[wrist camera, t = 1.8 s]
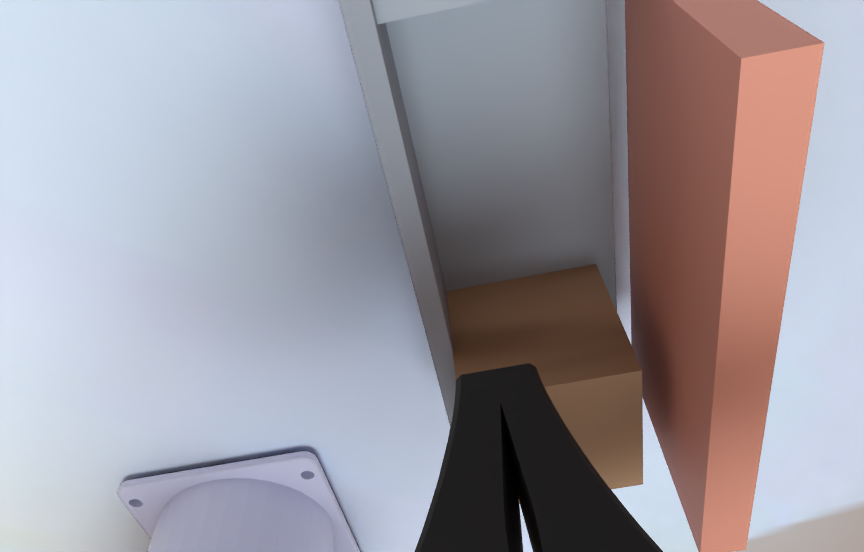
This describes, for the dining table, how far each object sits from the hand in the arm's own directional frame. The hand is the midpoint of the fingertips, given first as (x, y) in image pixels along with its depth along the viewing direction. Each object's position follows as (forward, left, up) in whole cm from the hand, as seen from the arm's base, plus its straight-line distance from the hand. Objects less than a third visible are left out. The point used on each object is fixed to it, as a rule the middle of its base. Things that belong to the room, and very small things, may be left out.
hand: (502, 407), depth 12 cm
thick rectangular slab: (0, -5, -6) cm, 8 cm away
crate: (-4, -1, -6) cm, 7 cm away
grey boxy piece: (0, -1, -9) cm, 9 cm away
